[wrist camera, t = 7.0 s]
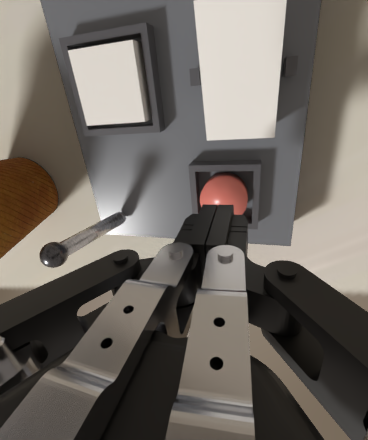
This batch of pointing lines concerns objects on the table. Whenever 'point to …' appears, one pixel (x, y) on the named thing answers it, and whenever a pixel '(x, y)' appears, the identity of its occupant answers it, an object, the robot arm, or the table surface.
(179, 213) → the panel
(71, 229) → the table surface
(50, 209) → the disposable coffee cup
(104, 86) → the paddle
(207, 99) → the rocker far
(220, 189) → the button
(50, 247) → the toggle
